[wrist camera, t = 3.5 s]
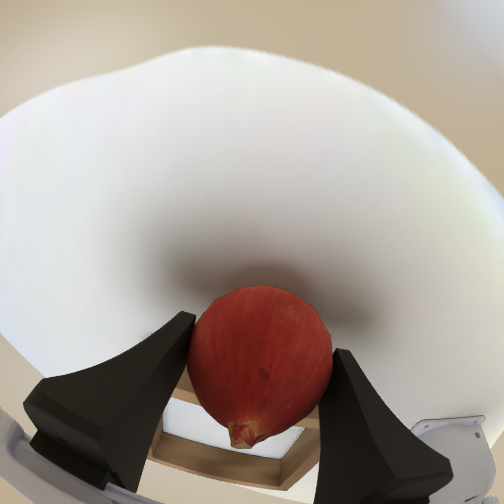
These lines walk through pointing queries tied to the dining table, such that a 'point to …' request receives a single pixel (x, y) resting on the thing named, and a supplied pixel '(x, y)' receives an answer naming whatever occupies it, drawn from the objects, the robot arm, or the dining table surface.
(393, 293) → the dining table surface
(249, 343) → the onion
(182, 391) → the box
